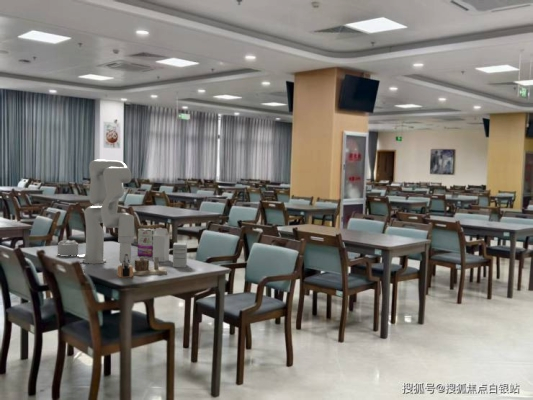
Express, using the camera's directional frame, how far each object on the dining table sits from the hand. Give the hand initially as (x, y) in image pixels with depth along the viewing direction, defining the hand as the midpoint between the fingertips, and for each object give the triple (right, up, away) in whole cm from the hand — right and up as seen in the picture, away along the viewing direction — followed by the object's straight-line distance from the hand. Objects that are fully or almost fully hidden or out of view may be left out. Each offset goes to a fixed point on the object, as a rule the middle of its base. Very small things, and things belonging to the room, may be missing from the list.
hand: (125, 274), depth 265 cm
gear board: (+9, 0, +12) cm, 15 cm away
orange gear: (0, -1, 0) cm, 1 cm away
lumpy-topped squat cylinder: (-49, +4, +54) cm, 74 cm away
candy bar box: (-3, +3, +61) cm, 61 cm away
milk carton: (+9, +1, +46) cm, 47 cm away
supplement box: (+22, 0, +32) cm, 39 cm away
